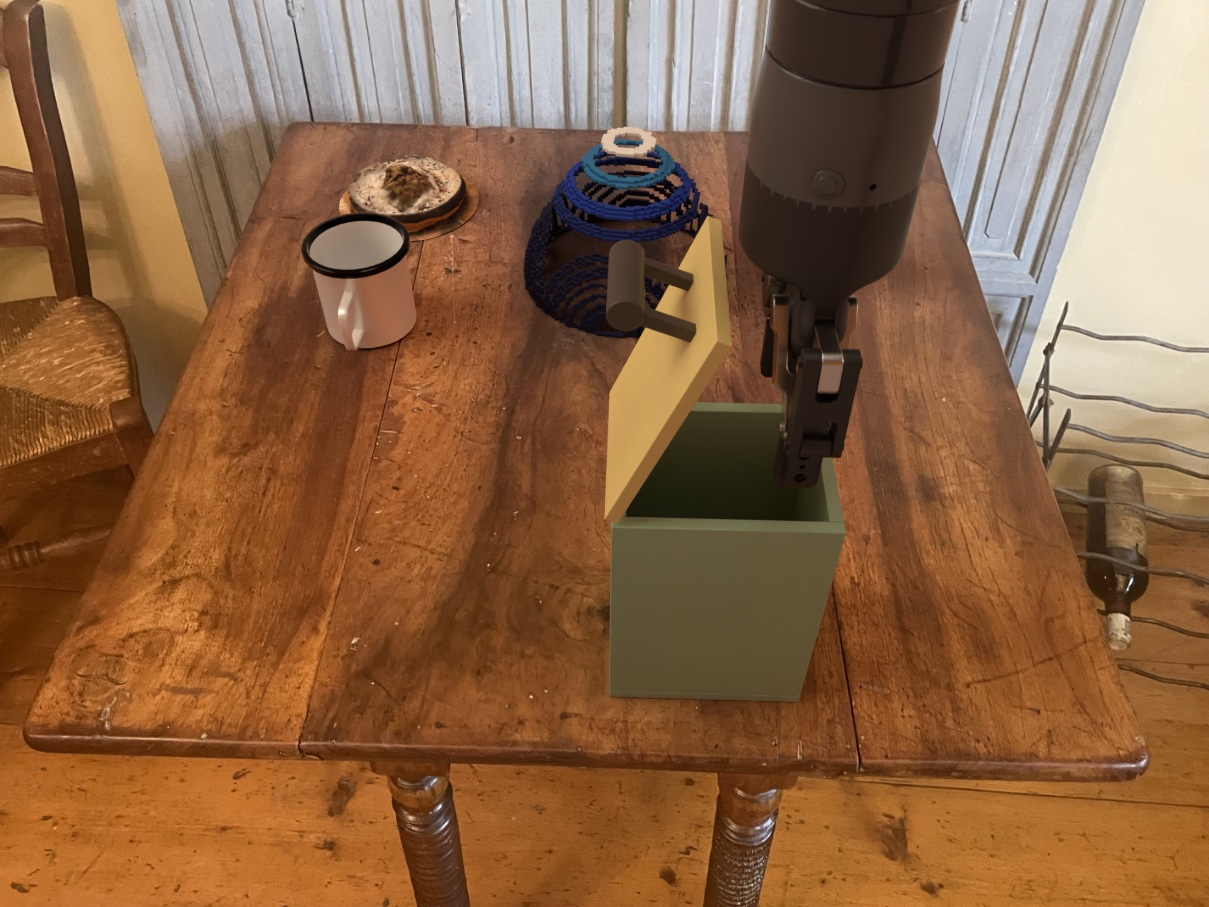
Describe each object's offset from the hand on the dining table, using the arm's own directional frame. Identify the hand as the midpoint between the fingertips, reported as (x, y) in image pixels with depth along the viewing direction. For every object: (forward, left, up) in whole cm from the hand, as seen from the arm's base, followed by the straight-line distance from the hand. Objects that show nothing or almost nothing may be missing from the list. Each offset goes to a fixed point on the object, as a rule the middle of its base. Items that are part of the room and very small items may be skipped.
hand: (785, 424), depth 54 cm
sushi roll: (+62, -13, -21) cm, 67 cm away
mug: (+46, +2, -21) cm, 51 cm away
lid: (+5, +5, +3) cm, 7 cm away
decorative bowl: (+37, -22, -21) cm, 48 cm away
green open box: (+2, +2, -21) cm, 21 cm away
